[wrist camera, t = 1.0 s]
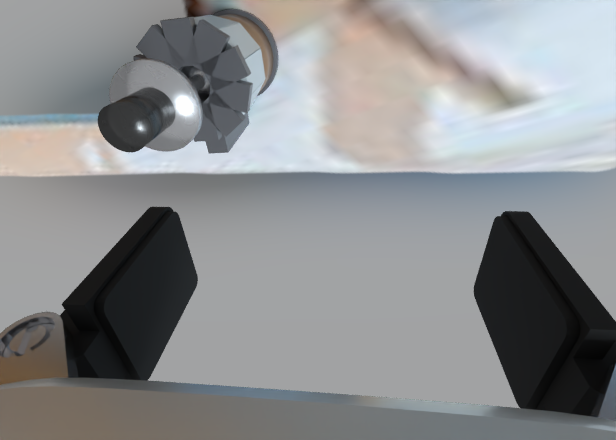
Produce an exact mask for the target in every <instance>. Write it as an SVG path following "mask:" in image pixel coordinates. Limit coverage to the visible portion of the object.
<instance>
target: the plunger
mask: <svg viewBox="0 0 616 440" xmlns="http://www.w3.org/2000/svg"><path fill="white" fill-rule="evenodd" d="M209 96H210V83H209V81H208V79H207V77H206V76H205V74H204V72H202V71H201V70H199V69H197V68H196V67H194V66H184V67H183V68H182V70H181V71H180V70H179V69H177V68H176V67H175V66H173V65H171V64H169V63H167V62H165V61H162V60H158V59H153V58H143V59H138V60H135V61H132V62H130V63H127V64H125V65H123V66H122V67H121V68H120V69H118V71H117V72H116V73H115V75H114V76H113V78H112V81H111V85H110V102H111V104H110V105H108V106H106V107H104V108H103V109H102V110H101V111H100V113H99V116H98V126H99V129H100V131H101V133H102V135H103V137H104V138H105V139H106V140H107V141H108V142H109V143H110V144H111V145H112V146H113V147H115V148H117V149H119V150H121V151H125V152H136V151H138V150H140V149H142V148H143V147H144V146H146V147H148V148H151V149H154V150H158V151H174V150H178V149H181V148H183V147H184V146H186V145H187V144H188V143H189V142H191V141H192V140H193V139H194V138H195V136H196V135H197V134H198V132H199V130H200V128H201V125H202V120H203V108H202V103H201V101H204V100H206V99H207V98H208V97H209Z"/></svg>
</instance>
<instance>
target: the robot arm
mask: <svg viewBox="0 0 616 440" xmlns="http://www.w3.org/2000/svg"><path fill="white" fill-rule="evenodd" d="M197 281H198V278H197V274H196V270H195V267H194V264H193V260H192V257H191V254H190V250H189V247H188V244H187V241H186V237H185V234H184V231H183V228H182V224H181V221H180V218H179V215H178V213H177V212H173V210H172V209H171V208H170V207H150V208H149V209H148V210H147V211H146V212H145V213H144V214H143V215H142V216H141V217H140V218H139V220H138V221H137V222H136V223H135V224H134V225H133V226H132V227H131V228H130V229H129V231H128V232H127V233H126V234H125V235H124V236H123V237H122V238H121V239H120V241H119V242H118V243H117V244H116V245H115V246H114V247H113V248H112V249H111V250H110V251H109V253H108V254H107V255H106V256H105V257H104V258H103V259H102V260H101V261H100V262H99V264H98V265H97V266H96V267H95V268H94V269H93V270H92V271H91V272H90V274H89V275H88V276H87V277H86V278H85V279H84V280H83V281H82V282H81V283H80V285H79V286H78V287H77V288H76V289H75V290H74V291H73V292H72V293H71V294H70V296H69V297H68V298H67V299H66V300H65V301H64V302H63V304H62V305H63V307H64V309H65V310H64V312H63V313H62V314H61V315H58V314H56V313H53V312H42V313H36V314H33V315H30V316H27V317H24V318H22V319H20V320H18V321H16V322H15V323H13V324H12V325H10V326H9V327H7V328H6V329H5V330H4V331H3V332H1V333H0V440H616V321H615V320H614V319H613V318H612V316H611V315H610V314H609V313H608V311H607V310H606V309H605V308H604V306H603V305H602V304H601V302H600V301H599V300H598V299H597V297H595V295H594V294H593V292H592V291H591V290H590V289H589V287H588V286H587V285H586V283H585V282H584V281H583V280H582V278H581V277H580V276H579V275H578V273H577V272H576V271H575V270H574V269H573V267H572V266H571V264H570V263H569V262H568V261H567V259H566V258H565V257H564V256H563V255H562V253H561V252H560V251H559V249H558V248H557V247H556V246H555V244H554V243H553V242H552V240H551V239H550V238H549V237H548V236H547V234H546V233H545V232H544V230H543V229H542V228H541V227H540V225H539V224H538V223H537V222H536V220H535V219H534V218H533V216H532V215H531V214H530V213H529V212H517V211H514V212H512V211H505V212H503V214H502V215H501V216H497V217H496V218H495V219H494V222H493V225H492V229H491V232H490V235H489V239H488V242H487V245H486V248H485V252H484V255H483V259H482V262H481V265H480V268H479V272H478V275H477V278H476V282H475V285H474V296H475V299H476V302H477V305H478V307H479V310H480V312H481V315H482V317H483V320H484V322H485V325H486V327H487V330H488V332H489V334H490V337H491V339H492V342H493V345H494V347H495V349H496V352H497V355H498V357H499V359H500V362H501V364H502V367H503V370H504V372H505V375H506V377H507V379H508V382H509V385H510V387H511V389H512V392H513V395H514V397H515V399H516V402H517V404H518V406H519V407H520V408H510V407H500V406H489V405H478V404H466V403H452V402H440V401H427V400H413V399H401V398H387V397H375V396H360V395H348V394H333V393H320V392H306V391H292V390H278V389H264V388H249V387H235V386H220V385H205V384H190V383H175V382H159V381H147V380H148V379H149V378H150V376H151V374H152V372H153V370H154V368H155V366H156V364H157V362H158V361H159V359H160V357H161V355H162V353H163V351H164V349H165V347H166V345H167V343H168V341H169V339H170V337H171V335H172V333H173V331H174V329H175V327H176V325H177V323H178V321H179V320H180V317H181V316H182V314H183V312H184V310H185V308H186V306H187V304H188V302H189V300H190V298H191V296H192V294H193V292H194V290H195V288H196V286H197Z"/></svg>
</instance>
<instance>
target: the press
mask: <svg viewBox="0 0 616 440" xmlns="http://www.w3.org/2000/svg"><path fill="white" fill-rule="evenodd" d="M161 25H162V28H161V27H160V26H159V25H158V24H156V25H152V26H151V28H150V29H149V30H148V32H147V33H146V34H145V36H144V37H143V38H142V40H141V41H140V42H139V44H138V45H137V46H136V47H137V48H138V49H139V50H140V51H141V52H142V53H143V54H144V55H141V54H139V55H136V56H134V61H135V60H138V59H143V58H153V59H158V60H162V61H165V62H167V63H169V64H171V65H173V66H175V67H176V68H177V69H179V70H180V71H181V70H182V68H183V67H184V66H194V67H196V68H197V69H199V70H201V71H202V72H204V74H205V76H206V77H207V79H208V81H209V83H210V96H209V97H208V98H207V99H206V100H204V101H201V103H202V108H203V120H202V125H201V128H200V130H199V132H198V134H197V135H196V136H195V138H194V141H195V142H196V141H206V144H207V148H208V152H209V153H225V152H229V151H230V149H231V148H232V147H233V145H234V144H235V142H236V141H237V140H238V138H239V137H240V135H241V134H242V133H243V131H244V130H245V128H246V127H247V126H248V124H249V118H248V111H249V110H250V107H251V106H252V104H253V103H254V101H255V99H256V97H257V96H258V95H260V94H261V93H263V92H264V91H265V90H266V89H267V88H268V87H269V85H270V84H271V83H272V81H273V79H274V77H275V75H276V72H277V68H278V50H277V46H276V42H275V40H274V38H273V35H272V34H271V32H270V30H269V29H268V28H267V26H266V25H265V24H264V23H263V22H262V21H261V20H260V19H259V18H257V17H256V16H254V15H253V14H251V13H249V12H246V11H243V10H237V9H229V10H224V11H220V12H217V13H215V14H214V15H205V16H200V17H186V18H177V19H168V20H162V21H161Z"/></svg>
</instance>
